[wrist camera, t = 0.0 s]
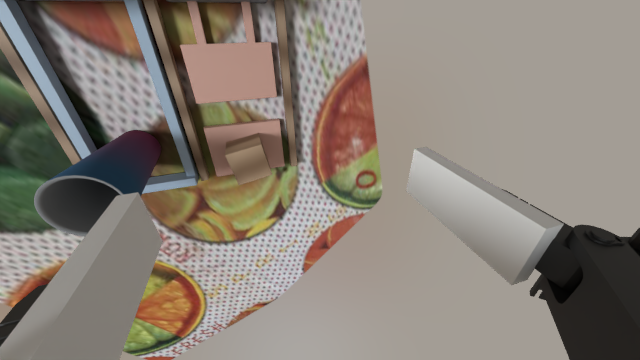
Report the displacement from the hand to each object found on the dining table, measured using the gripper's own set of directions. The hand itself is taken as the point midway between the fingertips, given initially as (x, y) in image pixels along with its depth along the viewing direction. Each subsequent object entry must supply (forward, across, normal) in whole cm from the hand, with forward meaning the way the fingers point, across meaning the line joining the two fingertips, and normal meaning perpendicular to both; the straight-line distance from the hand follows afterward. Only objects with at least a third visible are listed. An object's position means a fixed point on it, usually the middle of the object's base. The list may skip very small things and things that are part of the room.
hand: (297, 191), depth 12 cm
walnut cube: (+27, -3, -9) cm, 29 cm away
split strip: (+28, -3, 0) cm, 28 cm away
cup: (+28, -17, -6) cm, 34 cm away
